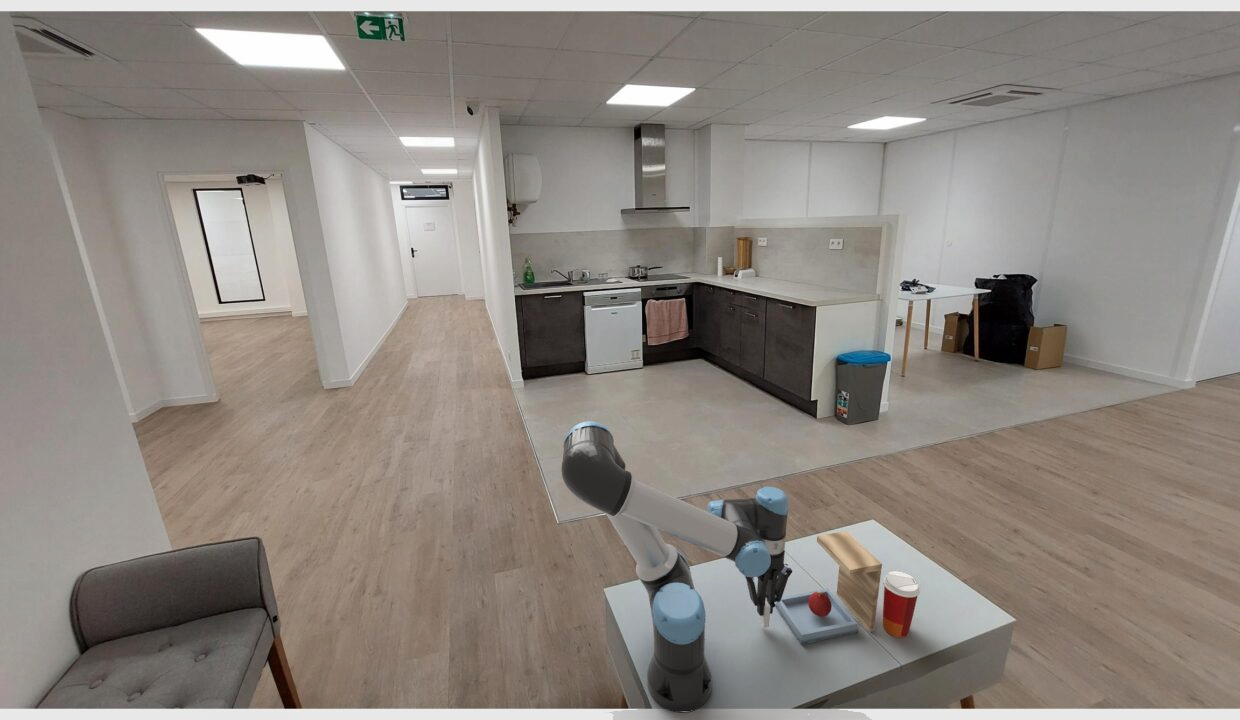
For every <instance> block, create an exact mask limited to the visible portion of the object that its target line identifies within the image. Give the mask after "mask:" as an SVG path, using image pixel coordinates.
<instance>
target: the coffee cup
mask: <svg viewBox="0 0 1240 720" xmlns="http://www.w3.org/2000/svg"><path fill="white" fill-rule="evenodd" d="M882 583H883V587H884V590H883V604H882V605H883V606H882V627H883V629H884V631H885V632H886V633H887V634H889V635H890V636H893V637H895V638H899V639H903V638H907V637H908V635H909V633H910V629H911V626H912V621H913V617H914V613H915V609H916V604H917V600H918V596H919V595H920V594H921V588H920V585H919V584H918V582H917V581H916V580H915V578H914V577H913V576H911V575H909V574H907V573H905V572H902V571H895V570H893V571H889V572H888V573H887V574H886V575H885V576H884V577H883V579H882Z"/></svg>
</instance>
